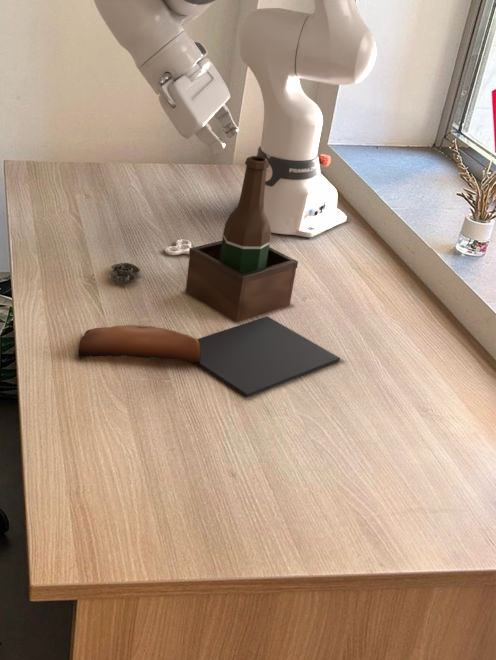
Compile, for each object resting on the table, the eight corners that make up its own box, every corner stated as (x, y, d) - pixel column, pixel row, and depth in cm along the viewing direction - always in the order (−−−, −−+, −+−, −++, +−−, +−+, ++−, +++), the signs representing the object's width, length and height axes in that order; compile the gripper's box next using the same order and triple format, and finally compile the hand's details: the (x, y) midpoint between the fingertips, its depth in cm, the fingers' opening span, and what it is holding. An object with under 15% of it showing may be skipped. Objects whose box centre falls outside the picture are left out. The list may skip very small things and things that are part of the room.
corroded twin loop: (105, 284, 160) (105, 279, 160) (113, 265, 167) (113, 260, 166) (134, 288, 160) (134, 283, 160) (141, 269, 167) (142, 264, 166)
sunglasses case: (200, 336, 146) (203, 313, 140) (198, 377, 143) (202, 355, 137) (82, 330, 145) (80, 307, 139) (78, 370, 142) (76, 349, 136)
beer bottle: (257, 312, 157) (279, 170, 144) (211, 304, 158) (229, 162, 145) (263, 293, 164) (285, 155, 150) (218, 285, 165) (236, 147, 151)
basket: (238, 276, 169) (245, 234, 164) (290, 305, 161) (298, 261, 156) (184, 292, 161) (189, 248, 157) (236, 323, 154) (242, 277, 149)
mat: (266, 319, 156) (267, 316, 155) (339, 361, 146) (340, 357, 146) (173, 349, 144) (174, 346, 144) (246, 397, 135) (247, 394, 134)
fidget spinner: (180, 241, 179) (180, 237, 178) (210, 250, 177) (211, 246, 176) (162, 253, 174) (162, 248, 173) (193, 262, 171) (194, 258, 171)
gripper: (170, 68, 133) (229, 149, 137) (205, 41, 150) (256, 114, 154) (137, 95, 137) (196, 174, 141) (175, 66, 153) (226, 137, 157)
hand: (228, 142), depth 147 cm, fingers open, 8 cm apart
